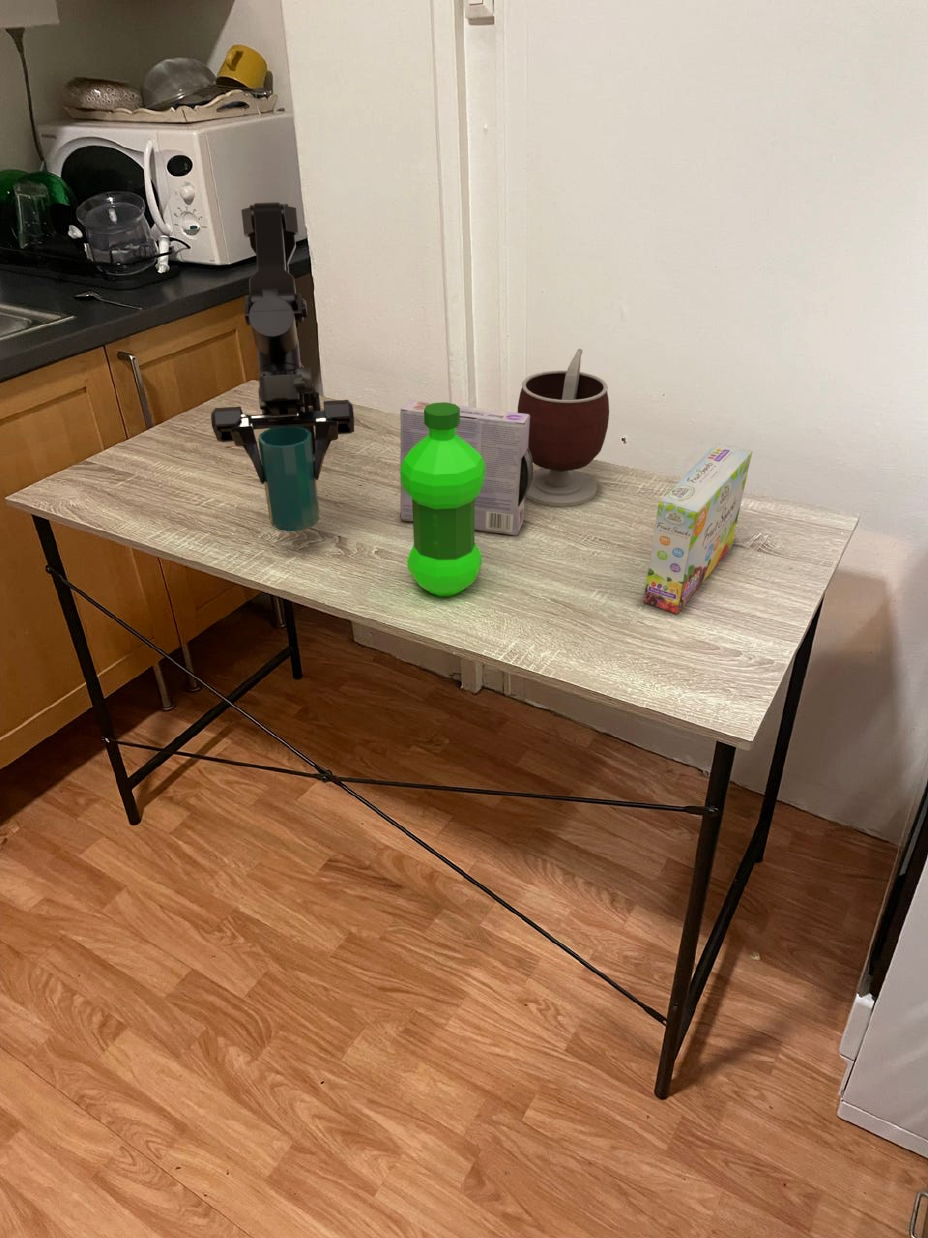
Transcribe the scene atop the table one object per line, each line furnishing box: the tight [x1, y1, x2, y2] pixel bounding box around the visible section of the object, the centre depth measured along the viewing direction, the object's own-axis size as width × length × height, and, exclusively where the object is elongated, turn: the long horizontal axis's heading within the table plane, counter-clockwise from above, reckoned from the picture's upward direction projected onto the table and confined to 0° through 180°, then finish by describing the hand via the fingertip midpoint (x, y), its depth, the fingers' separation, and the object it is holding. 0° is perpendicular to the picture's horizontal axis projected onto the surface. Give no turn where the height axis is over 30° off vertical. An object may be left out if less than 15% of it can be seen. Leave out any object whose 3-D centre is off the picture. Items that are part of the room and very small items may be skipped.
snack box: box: [642, 443, 753, 614], centre depth 121 cm, size 21×6×15 cm, turn 148°
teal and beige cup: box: [257, 426, 321, 532], centre depth 125 cm, size 7×7×12 cm
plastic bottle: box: [399, 401, 485, 597], centre depth 116 cm, size 10×10×25 cm
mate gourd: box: [517, 348, 610, 508], centre depth 142 cm, size 16×14×20 cm
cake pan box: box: [399, 399, 534, 537], centre depth 133 cm, size 19×5×18 cm, turn 75°
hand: (289, 480), depth 123 cm, fingers closed on teal and beige cup, 7 cm apart
